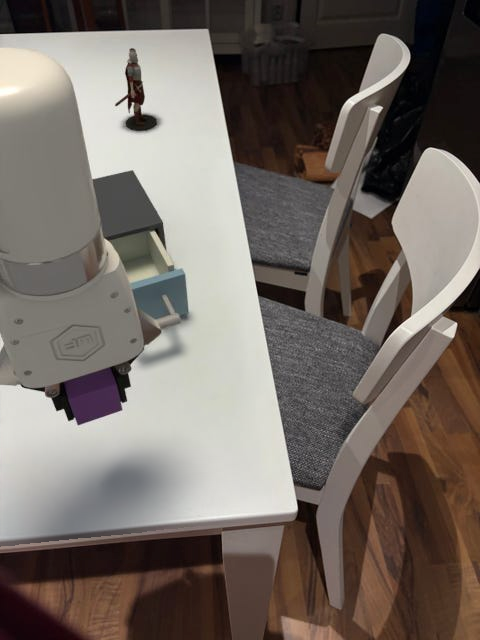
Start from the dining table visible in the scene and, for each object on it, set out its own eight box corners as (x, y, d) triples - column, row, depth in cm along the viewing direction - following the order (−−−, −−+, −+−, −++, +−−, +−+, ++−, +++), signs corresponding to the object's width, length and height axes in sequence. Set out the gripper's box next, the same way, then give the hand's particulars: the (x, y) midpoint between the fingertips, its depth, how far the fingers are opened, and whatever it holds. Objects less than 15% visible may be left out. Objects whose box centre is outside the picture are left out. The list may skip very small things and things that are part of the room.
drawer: (202, 338, 70) (200, 300, 64) (119, 366, 67) (108, 328, 61) (158, 254, 81) (152, 215, 76) (84, 274, 78) (73, 235, 73)
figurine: (153, 131, 109) (144, 56, 98) (119, 129, 109) (106, 54, 98) (160, 116, 113) (152, 42, 102) (127, 114, 114) (115, 40, 103)
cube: (77, 425, 48) (68, 399, 45) (67, 390, 50) (58, 363, 47) (122, 410, 49) (116, 383, 46) (110, 377, 52) (104, 349, 49)
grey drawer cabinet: (169, 270, 80) (163, 221, 74) (86, 294, 77) (72, 245, 70) (140, 217, 89) (132, 169, 82) (65, 236, 86) (51, 188, 79)
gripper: (-82, 320, 31) (7, 465, 45) (183, 251, 37) (192, 400, 50) (-86, 246, 36) (-4, 398, 49) (149, 194, 41) (166, 345, 55)
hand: (94, 398), depth 50 cm, fingers closed on cube, 4 cm apart
